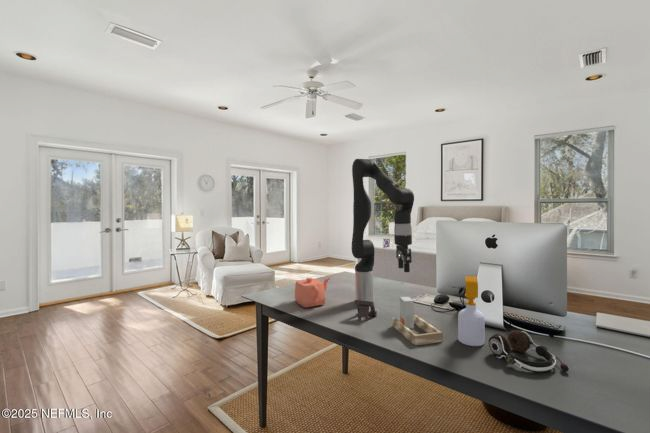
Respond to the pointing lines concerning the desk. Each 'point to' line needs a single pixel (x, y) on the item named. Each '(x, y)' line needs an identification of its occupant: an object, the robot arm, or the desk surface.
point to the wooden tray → (419, 339)
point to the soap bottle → (471, 317)
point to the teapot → (310, 292)
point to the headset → (522, 344)
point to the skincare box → (407, 312)
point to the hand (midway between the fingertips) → (403, 270)
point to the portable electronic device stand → (365, 309)
